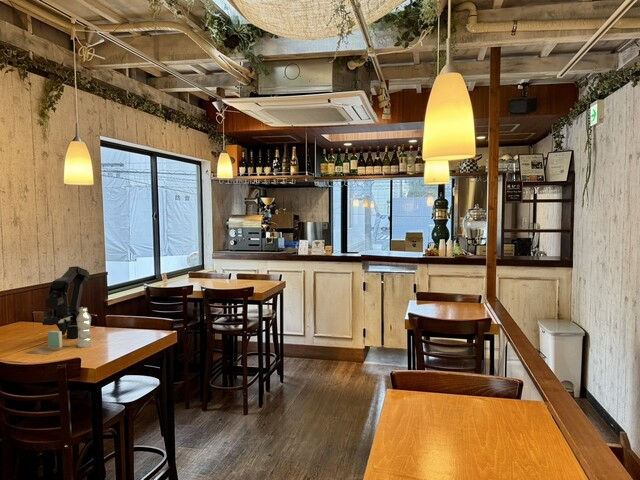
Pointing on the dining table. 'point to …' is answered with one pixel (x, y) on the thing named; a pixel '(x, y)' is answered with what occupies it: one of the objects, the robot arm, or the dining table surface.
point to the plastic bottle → (84, 328)
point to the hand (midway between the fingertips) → (63, 334)
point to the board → (46, 350)
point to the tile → (55, 339)
